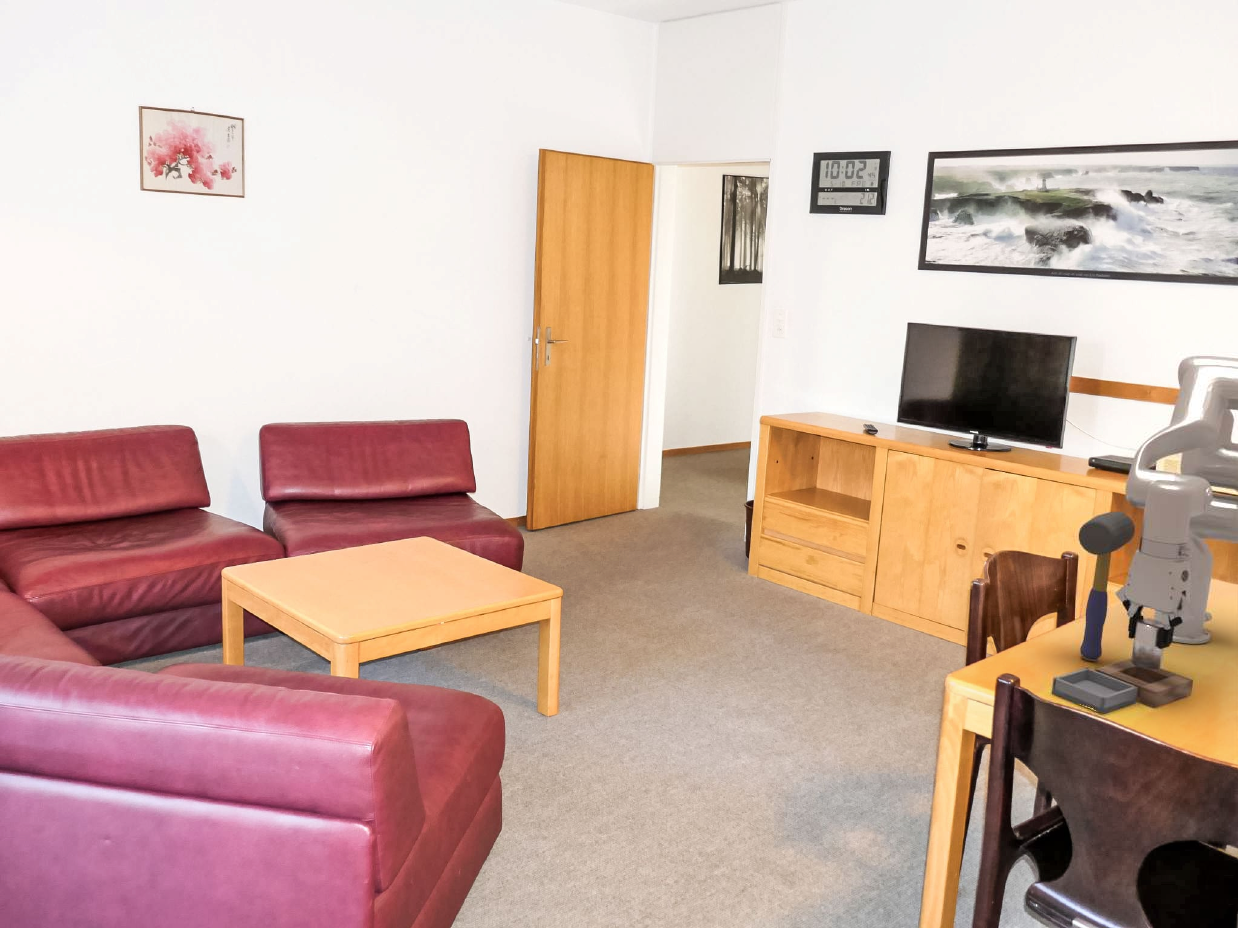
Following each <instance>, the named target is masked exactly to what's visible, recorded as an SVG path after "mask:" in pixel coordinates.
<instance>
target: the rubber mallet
mask: <svg viewBox="0 0 1238 928" xmlns="http://www.w3.org/2000/svg"><path fill="white" fill-rule="evenodd" d="M1135 528H1136V527H1135V524H1134V522H1133V520H1132V518H1130V516H1128V515H1127V514H1125V513H1124V512H1121V511H1109V512H1105V513H1101V514H1098V515H1096V516H1094V517H1093V518H1091V519H1090V520H1088V521H1087V522H1085V523H1084V524H1083V525H1082V526H1081V527H1080V529H1079V531H1078V541H1079V544H1080V546H1081V547H1082V548H1083V550H1085V551H1086V552H1087V553H1089V554H1091V555H1094V556H1095V555H1096V562H1095V570H1094V575H1093V582H1092V588H1091V589H1090V591H1089V594H1088V597H1087V602H1086V607H1085V627H1084V633H1083V634H1084V635H1083V639H1082V643H1081V646H1080V647H1079V648H1080V649H1079V653H1080V655H1081V657H1082V659H1084V660H1086V661H1089V662H1097V661H1099V659H1100V657H1102V654H1103V650H1102V648H1103V647H1102V641H1103V640H1102V639H1103V631H1104V626H1105V622H1106V620H1107V619H1106V618H1107V614H1108V599H1109V598H1108V591H1107V589H1108V581H1109V575H1110V566H1111V560H1112V559H1111V558H1112V553H1113V552H1116V551H1118V550H1120V549H1121V548H1122V547H1124V546H1125V545H1127V544H1128V543H1129V542H1130V541H1131V540H1132V539H1133V538H1134V535H1135V533H1136V532H1135V530H1136V529H1135Z"/></svg>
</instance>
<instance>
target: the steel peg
mask: <svg viewBox="0 0 1238 928" xmlns="http://www.w3.org/2000/svg"><path fill="white" fill-rule="evenodd" d="M1162 627H1163V622H1161V621H1158V620H1154V618H1142V619H1138V620H1137V622H1136V629H1135V636H1134V638H1133V644H1132V653H1131V662H1132V663H1133V664H1134V665H1136V666H1138V667H1141V668H1146V669H1159V668H1161V666H1162V659H1163V652H1164V648H1163V649H1159V648H1158V647H1157V644H1158V637H1159V630H1160V628H1162Z"/></svg>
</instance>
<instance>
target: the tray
mask: <svg viewBox="0 0 1238 928" xmlns="http://www.w3.org/2000/svg"><path fill="white" fill-rule="evenodd" d="M1137 691H1138V687H1136V686H1133V685H1130V684H1128V683H1125V682H1123V681H1120V680H1117V679H1115V678H1112V677H1110V676H1107V675H1104V674H1102V673H1099V672H1097V671H1095V669H1091V668H1090V667H1089V668H1088V667H1086V668H1081V669H1079V670H1076V671H1072V672H1068V673H1066V674H1062V675H1059V676H1055V677H1053V679H1052V686H1051V694H1052V695H1054V696H1057V697H1060V698H1062V699H1065V700H1067V701H1069V702H1072V703H1073V704H1077V705H1078V704H1081V705H1084V706H1087V707H1090V708H1093V709H1094V710H1096V711H1098V712H1099V713H1098V712H1097V713H1098V714H1100V713H1102V714H1101V715H1104V714H1107V713H1111V712H1113V711H1116V710H1119V709H1121V708H1125V707H1128V706H1131V705H1134V704H1136V702H1137V701H1136V698H1137ZM1081 705H1080V706H1081Z"/></svg>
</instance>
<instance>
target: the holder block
mask: <svg viewBox="0 0 1238 928" xmlns="http://www.w3.org/2000/svg"><path fill="white" fill-rule="evenodd" d="M1131 658H1132V657H1131ZM1131 658H1127V659H1124V660H1121V661H1117V662H1115V663H1114V662H1113V663H1111V664H1110V663H1109V664H1108V665H1104V666H1100V667H1098V668H1095V669H1094V671H1097V672H1099V673H1102V674H1104V675H1107V676H1110V677H1112V678H1115V679H1117V680H1120V681H1123V682H1125V683H1128V684H1130V685H1133V686H1136V687H1138V691H1137V698H1136V702H1137V703H1140V704H1143V705H1146V706H1148V707H1150V708H1152V709H1155V708H1158V707H1161V706H1164V705H1166V704H1170V703H1173V702H1175V701H1178V700H1180V699H1184V698H1187V697H1190V696H1191V695H1192V690H1193V681H1194V679H1191V678H1190V677H1187V676H1184V675H1181V674H1178V673H1176V672H1172V671H1170V670H1168V669H1164V668H1161V667H1160V668H1159V669H1146V668H1141V667H1138V666H1136V665H1134V664H1133V663H1132V662H1131Z"/></svg>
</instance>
